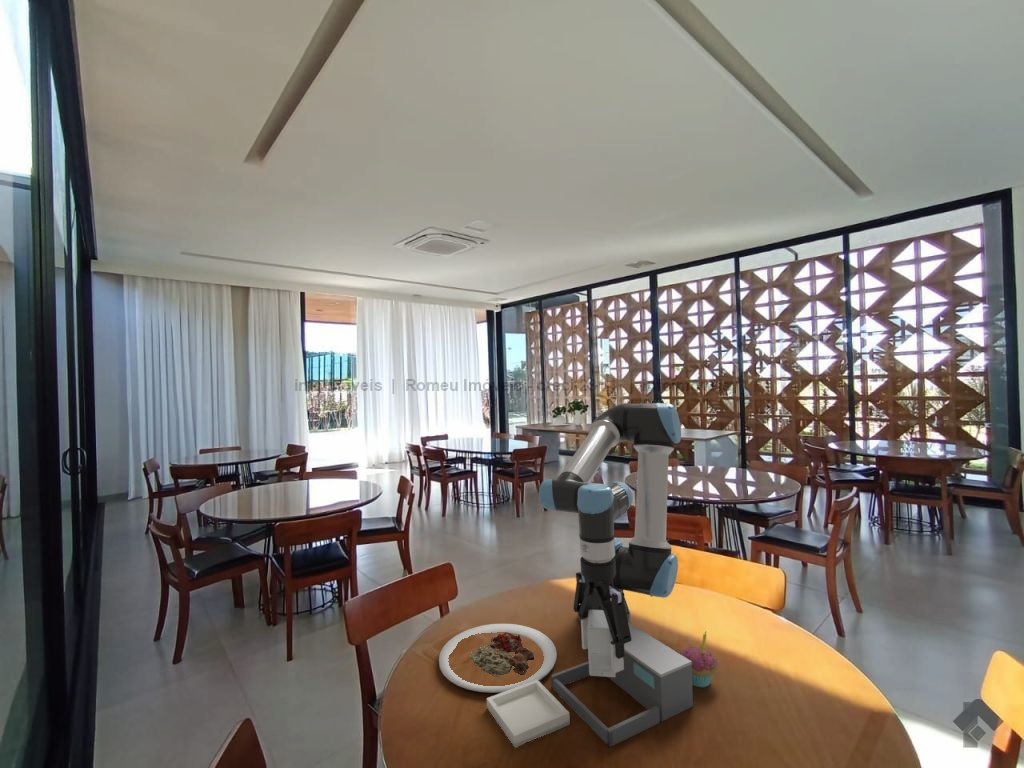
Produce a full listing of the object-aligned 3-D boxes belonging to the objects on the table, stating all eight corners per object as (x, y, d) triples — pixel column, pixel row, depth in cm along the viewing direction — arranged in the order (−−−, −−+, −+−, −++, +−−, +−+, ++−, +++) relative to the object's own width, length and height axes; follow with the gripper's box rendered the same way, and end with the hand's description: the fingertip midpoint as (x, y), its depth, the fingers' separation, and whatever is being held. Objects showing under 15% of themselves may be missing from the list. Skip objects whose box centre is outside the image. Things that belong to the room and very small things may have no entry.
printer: (551, 688, 109) (550, 646, 109) (627, 658, 119) (625, 620, 119) (609, 747, 90) (608, 696, 90) (693, 706, 101) (691, 661, 101)
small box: (615, 678, 99) (613, 629, 98) (588, 676, 100) (586, 627, 100) (615, 655, 106) (613, 609, 106) (590, 654, 108) (588, 608, 107)
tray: (486, 709, 102) (486, 698, 102) (537, 689, 108) (537, 679, 108) (514, 748, 91) (514, 736, 91) (569, 724, 97) (569, 712, 97)
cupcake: (716, 673, 112) (715, 623, 112) (719, 696, 104) (718, 641, 104) (678, 667, 115) (676, 618, 115) (678, 689, 107) (676, 636, 107)
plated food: (438, 707, 104) (438, 692, 104) (439, 636, 133) (438, 624, 133) (570, 689, 108) (570, 675, 108) (542, 625, 138) (542, 613, 138)
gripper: (555, 545, 111) (559, 639, 111) (618, 579, 91) (623, 693, 92) (581, 538, 114) (585, 630, 115) (647, 570, 95) (651, 680, 95)
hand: (602, 658), depth 103 cm, fingers closed on small box, 9 cm apart
